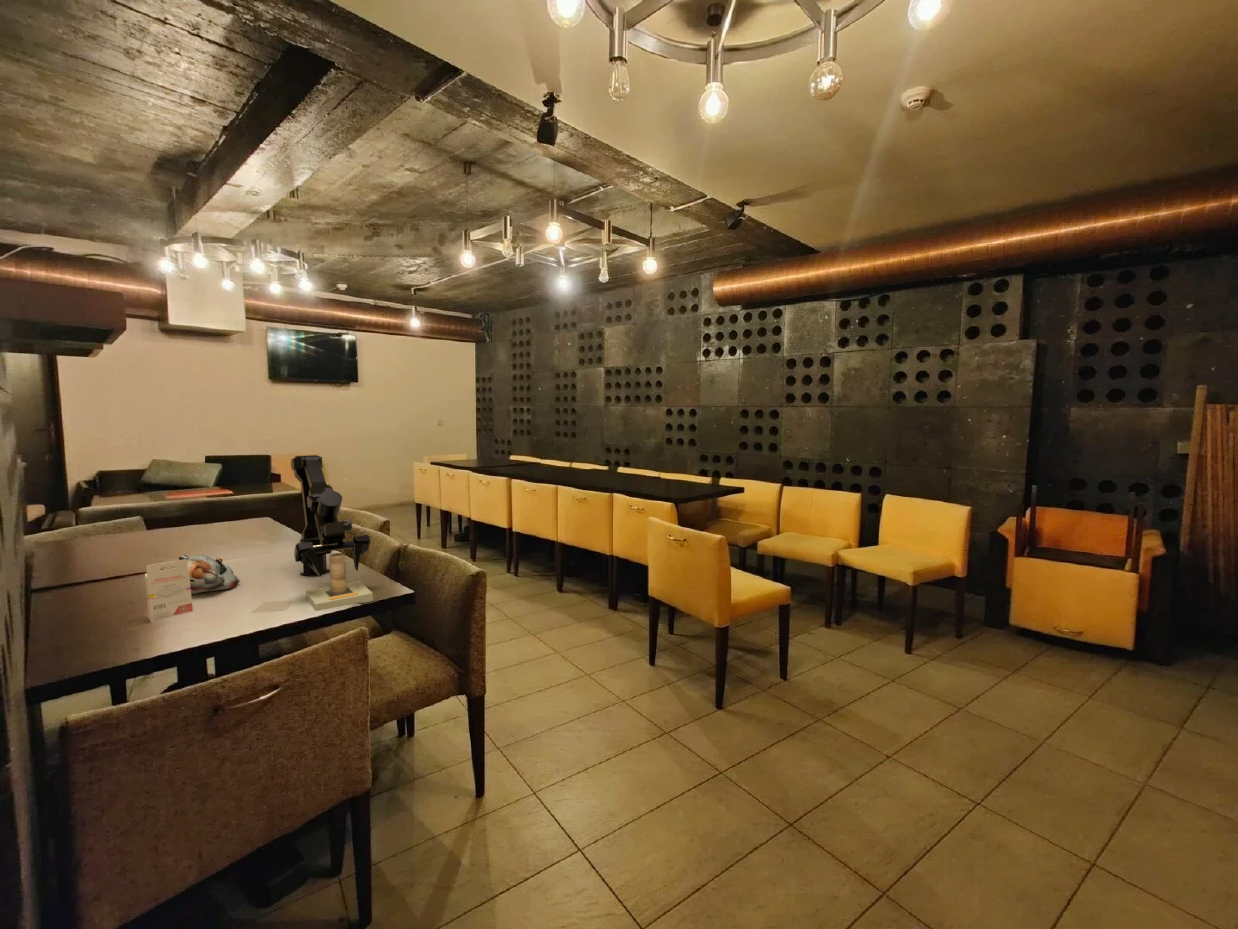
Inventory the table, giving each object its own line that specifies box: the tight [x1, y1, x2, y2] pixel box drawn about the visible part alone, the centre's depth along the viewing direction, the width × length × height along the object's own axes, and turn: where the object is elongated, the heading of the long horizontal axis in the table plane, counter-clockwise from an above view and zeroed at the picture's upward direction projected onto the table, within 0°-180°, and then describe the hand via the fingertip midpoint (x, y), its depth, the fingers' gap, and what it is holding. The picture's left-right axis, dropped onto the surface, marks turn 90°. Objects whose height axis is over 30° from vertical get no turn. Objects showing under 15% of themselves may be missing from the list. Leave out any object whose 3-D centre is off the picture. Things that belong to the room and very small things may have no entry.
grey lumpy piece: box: [178, 554, 241, 596], centre depth 157 cm, size 15×12×14 cm
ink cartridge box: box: [144, 559, 194, 623], centre depth 138 cm, size 9×5×15 cm, turn 136°
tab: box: [250, 599, 297, 614], centre depth 144 cm, size 8×8×1 cm
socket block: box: [305, 580, 374, 612], centre depth 150 cm, size 14×14×3 cm
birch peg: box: [328, 552, 348, 597], centre depth 150 cm, size 4×4×13 cm
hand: (339, 572), depth 148 cm, fingers open, 9 cm apart
